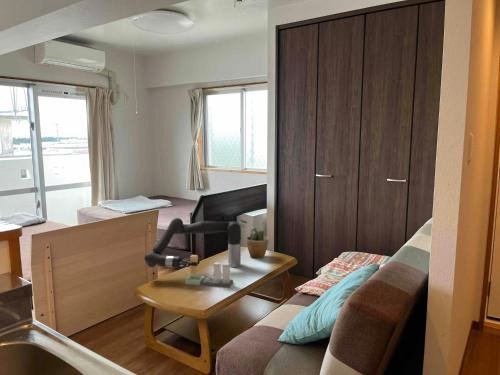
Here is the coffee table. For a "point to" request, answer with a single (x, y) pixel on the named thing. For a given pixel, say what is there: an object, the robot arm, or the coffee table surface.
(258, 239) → the potted plant
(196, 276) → the tray
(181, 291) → the coffee table surface
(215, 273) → the block
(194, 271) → the block
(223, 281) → the fuse block
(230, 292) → the coffee table surface
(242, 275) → the coffee table surface
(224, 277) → the end white fuse
